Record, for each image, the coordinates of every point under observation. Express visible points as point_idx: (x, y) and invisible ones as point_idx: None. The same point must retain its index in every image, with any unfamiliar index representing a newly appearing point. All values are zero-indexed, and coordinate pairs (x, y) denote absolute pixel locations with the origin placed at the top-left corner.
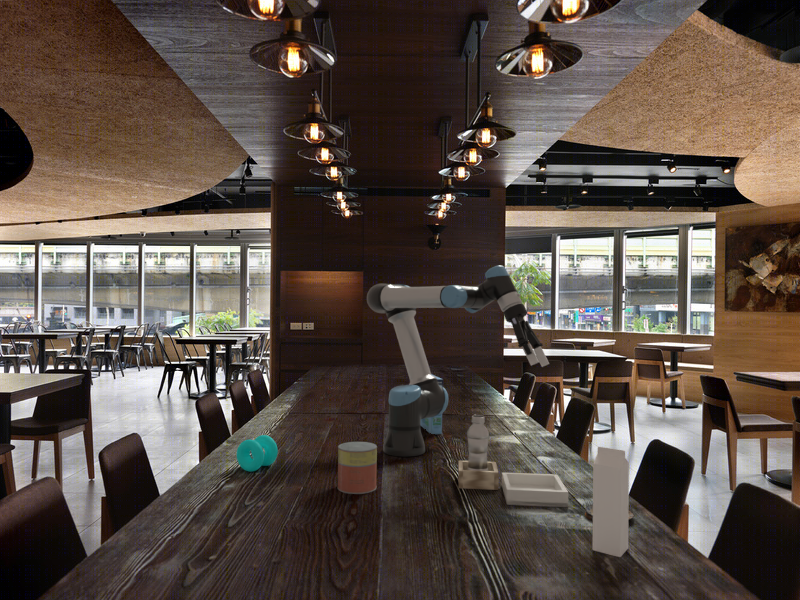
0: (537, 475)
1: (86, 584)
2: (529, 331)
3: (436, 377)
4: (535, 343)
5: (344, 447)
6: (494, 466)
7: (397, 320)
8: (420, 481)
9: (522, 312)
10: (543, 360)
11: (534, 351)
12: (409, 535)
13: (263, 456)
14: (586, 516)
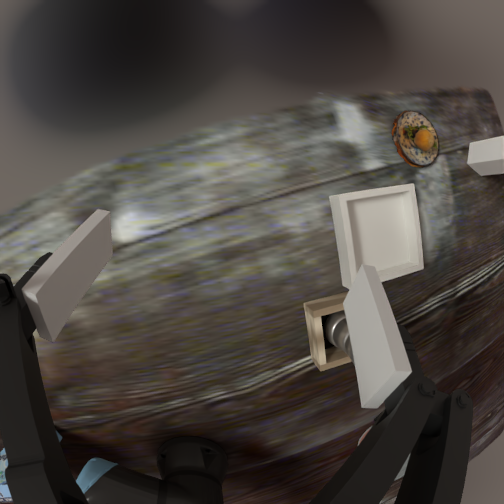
0: (350, 229)
1: (500, 430)
2: (57, 483)
3: (2, 491)
4: (26, 345)
5: (405, 470)
6: (343, 307)
7: None
8: (345, 395)
9: None
10: (96, 248)
11: (59, 328)
12: (478, 333)
13: None
14: (421, 166)
